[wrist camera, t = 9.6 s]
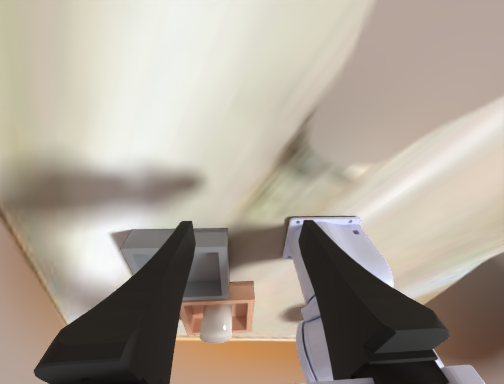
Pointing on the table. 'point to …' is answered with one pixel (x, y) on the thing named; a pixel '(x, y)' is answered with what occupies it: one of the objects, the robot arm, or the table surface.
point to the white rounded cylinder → (216, 323)
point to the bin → (203, 266)
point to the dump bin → (238, 296)
